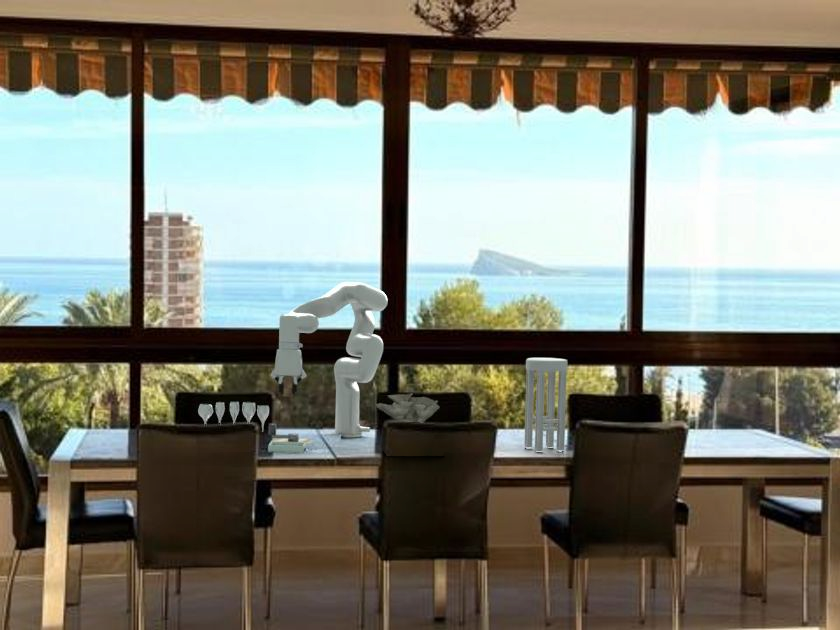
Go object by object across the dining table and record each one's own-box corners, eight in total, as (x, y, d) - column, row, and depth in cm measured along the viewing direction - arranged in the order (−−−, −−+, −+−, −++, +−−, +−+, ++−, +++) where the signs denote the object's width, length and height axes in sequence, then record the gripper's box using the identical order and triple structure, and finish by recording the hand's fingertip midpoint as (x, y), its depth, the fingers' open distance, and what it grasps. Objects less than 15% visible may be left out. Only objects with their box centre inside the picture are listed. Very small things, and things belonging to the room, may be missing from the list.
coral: (376, 456, 449) (377, 397, 448) (372, 448, 469) (374, 391, 468) (444, 457, 451) (446, 398, 450) (438, 448, 471) (439, 392, 470)
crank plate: (312, 442, 478) (312, 438, 478) (309, 448, 463) (309, 444, 463) (273, 441, 478) (273, 437, 478) (269, 447, 463) (269, 443, 463)
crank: (299, 440, 471) (299, 424, 471) (298, 442, 467) (298, 425, 467) (269, 439, 471) (269, 423, 471) (267, 441, 467) (268, 424, 467)
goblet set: (268, 434, 498) (269, 401, 498) (268, 436, 493) (268, 403, 492) (198, 433, 497) (199, 400, 496) (197, 435, 491) (197, 402, 490)
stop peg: (293, 395, 476) (294, 377, 475) (292, 396, 472) (293, 378, 471) (283, 395, 476) (283, 377, 475) (282, 396, 472) (282, 378, 471)
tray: (306, 448, 462) (306, 442, 462) (303, 453, 452) (303, 446, 452) (271, 448, 462) (271, 441, 462) (268, 452, 452) (268, 445, 452)
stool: (517, 448, 479) (519, 357, 477) (553, 446, 484) (555, 357, 483) (534, 454, 464) (537, 360, 463) (571, 452, 470) (574, 360, 468)
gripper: (311, 346, 477) (310, 393, 477) (268, 345, 477) (267, 392, 477) (310, 347, 469) (309, 395, 470) (265, 346, 469) (264, 394, 470)
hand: (288, 393), depth 474 cm, fingers closed on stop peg, 4 cm apart
